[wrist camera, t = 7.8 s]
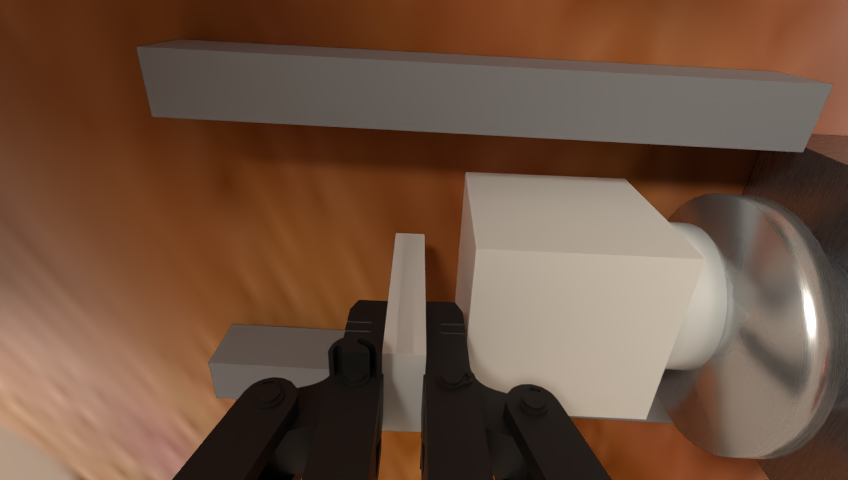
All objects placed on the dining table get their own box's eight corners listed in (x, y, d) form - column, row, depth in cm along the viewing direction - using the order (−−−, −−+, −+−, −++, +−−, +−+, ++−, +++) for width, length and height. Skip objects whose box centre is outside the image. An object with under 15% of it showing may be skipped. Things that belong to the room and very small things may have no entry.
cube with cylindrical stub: (465, 171, 17) (476, 249, 12) (665, 180, 17) (763, 261, 12) (454, 301, 20) (460, 410, 15) (626, 309, 20) (692, 422, 15)
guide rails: (179, 39, 15) (136, 46, 13) (776, 71, 15) (833, 84, 13) (238, 357, 22) (216, 397, 20) (657, 380, 22) (681, 423, 20)
